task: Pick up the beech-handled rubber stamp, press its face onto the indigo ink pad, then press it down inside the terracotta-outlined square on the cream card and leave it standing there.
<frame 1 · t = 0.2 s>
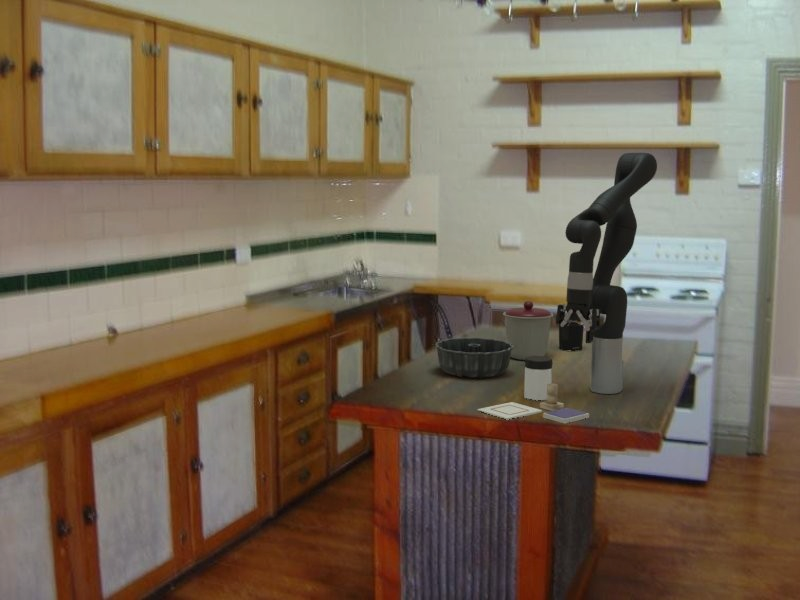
hand: (576, 341, 278), 17 cm above the table, tool pointing down, fingers open, 8 cm apart
stamp: (551, 409, 268), on the table
bundt pan: (473, 373, 315), on the table
pen holder: (570, 349, 358), on the table
sheet: (509, 411, 264), on the table
jar: (537, 398, 281), on the table
canister: (527, 358, 341), on the table
ink pad: (565, 417, 258), on the table
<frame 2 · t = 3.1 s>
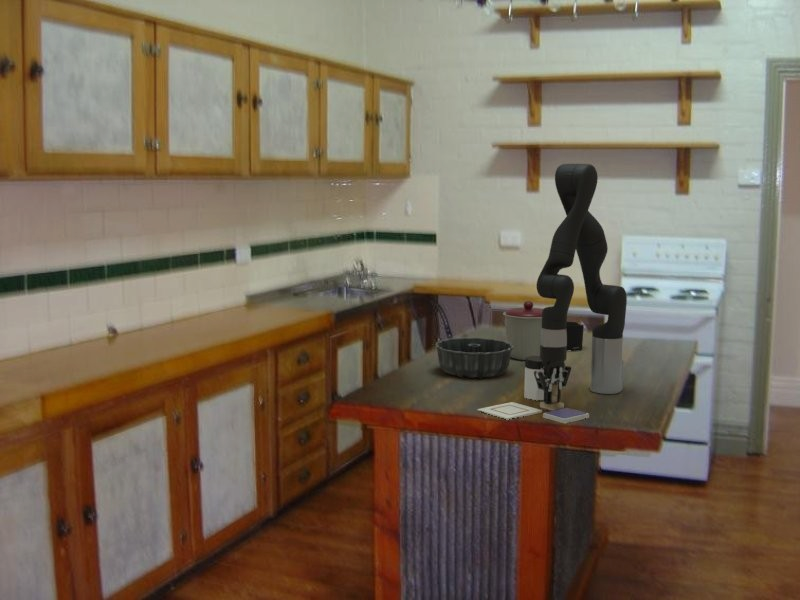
hand: (551, 402, 268), 2 cm above the table, tool pointing down, fingers closed on stamp, 3 cm apart
stamp: (551, 408, 268), on the table, touching gripper
everything else where it was.
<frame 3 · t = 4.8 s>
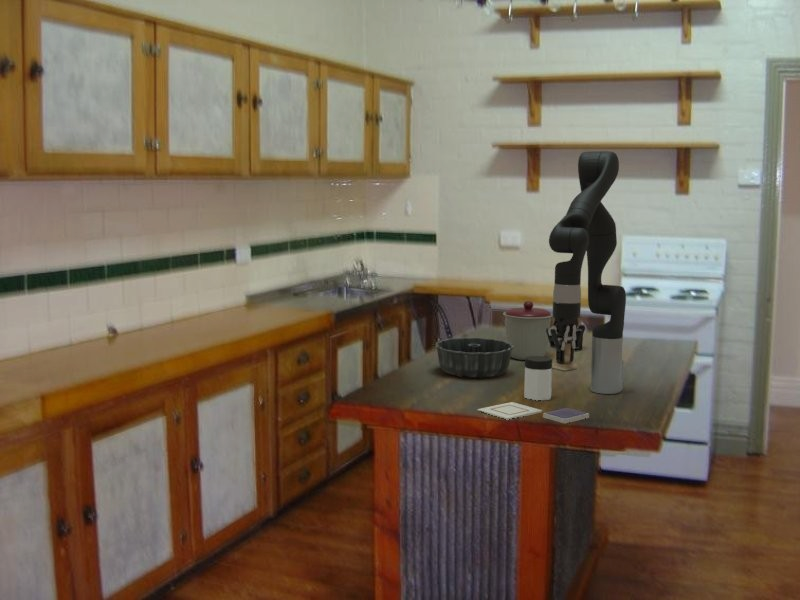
hand: (564, 362, 257), 16 cm above the table, tool pointing down, fingers closed on stamp, 3 cm apart
stamp: (564, 369, 257), point 14 cm above the table, touching gripper
everything else where it was.
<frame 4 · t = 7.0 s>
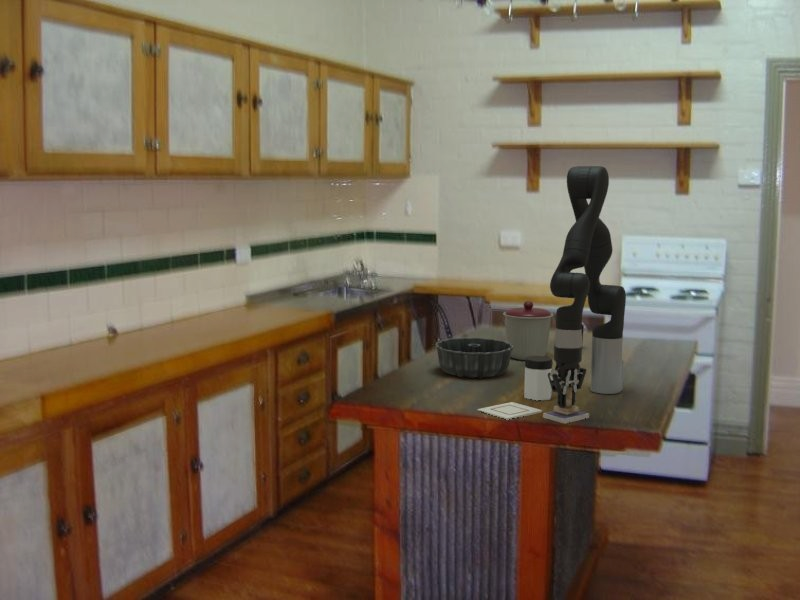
hand: (566, 405, 258), 3 cm above the table, tool pointing down, fingers closed on stamp, 3 cm apart
stamp: (565, 412, 258), point 1 cm above the table, touching gripper, ink pad
everything else where it was.
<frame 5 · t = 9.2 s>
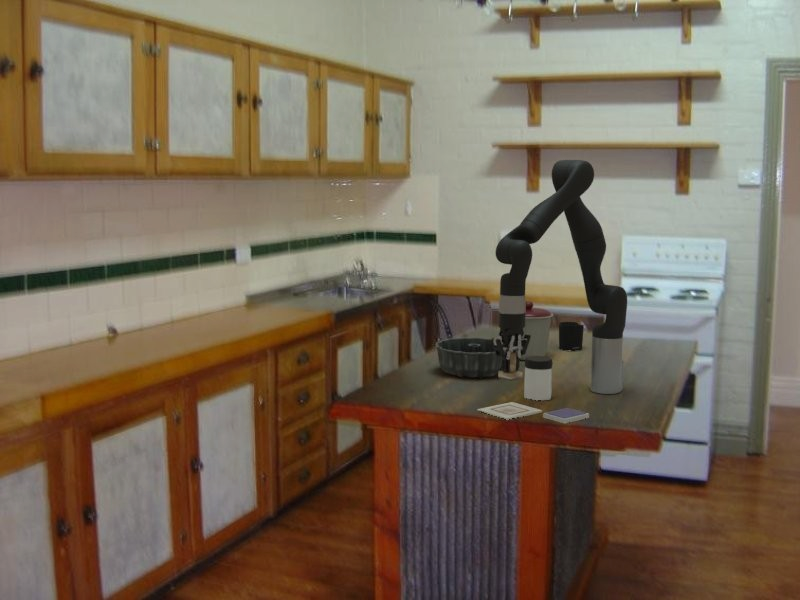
hand: (510, 370, 263), 12 cm above the table, tool pointing down, fingers closed on stamp, 3 cm apart
stamp: (510, 378, 263), point 10 cm above the table, touching gripper
everything else where it was.
when the fingers open (3 cm above the table, at t = 10.6 s): stamp stays where it is, resting on sheet.
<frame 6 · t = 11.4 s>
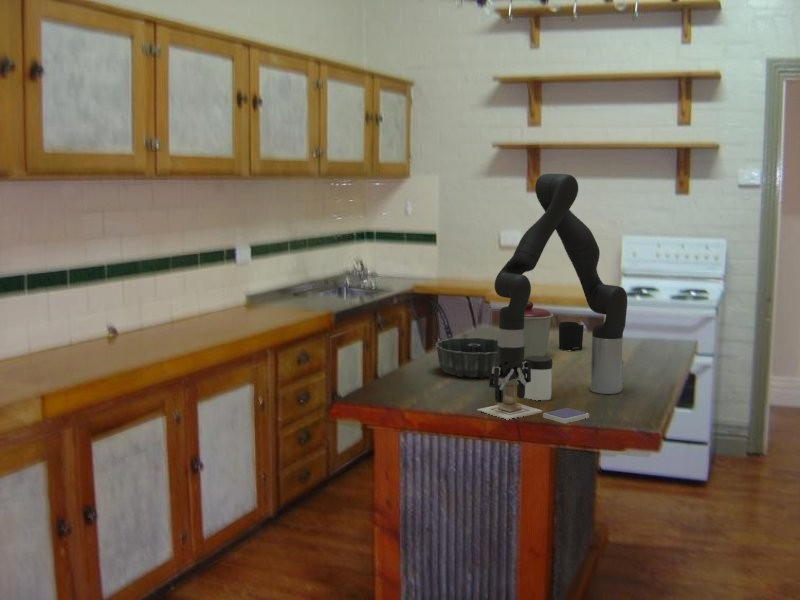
hand: (509, 400, 264), 3 cm above the table, tool pointing down, fingers open, 8 cm apart
stamp: (509, 409, 264), point 1 cm above the table, touching sheet
everything else where it was.
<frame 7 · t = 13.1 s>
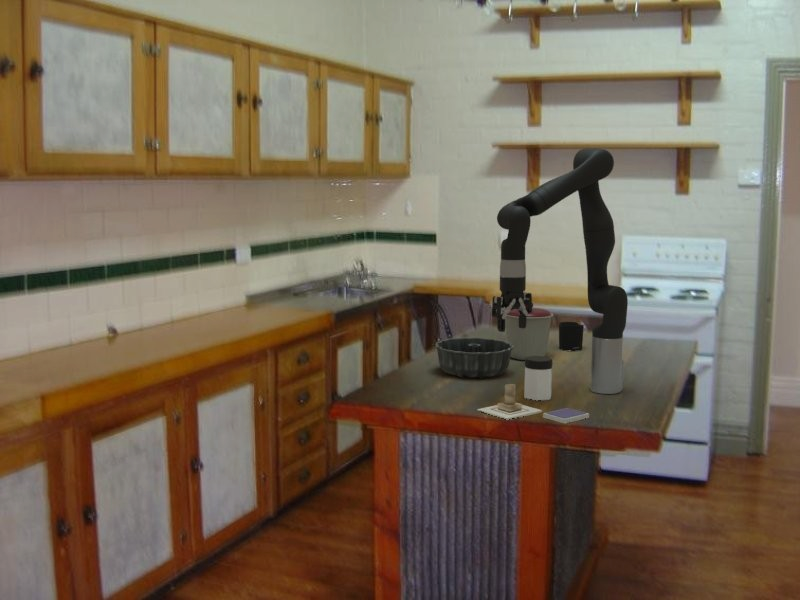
hand: (511, 329, 272), 22 cm above the table, tool pointing down, fingers open, 8 cm apart
nothing on the table moved.
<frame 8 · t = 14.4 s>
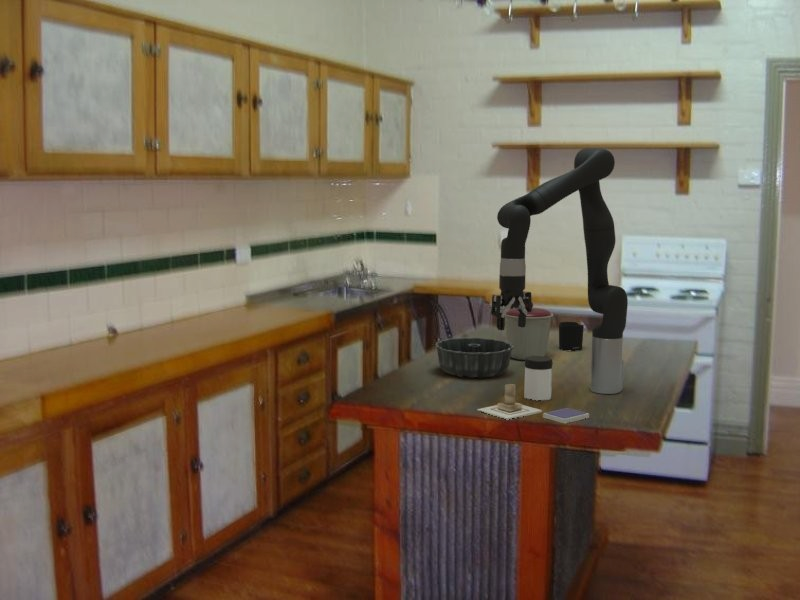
hand: (511, 328, 272), 22 cm above the table, tool pointing down, fingers open, 8 cm apart
nothing on the table moved.
at the end: stamp 0.0 cm off-centre on the sheet, point 0.6 cm above the sheet's base; stamp tilted 0°; the gripper is holding nothing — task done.
